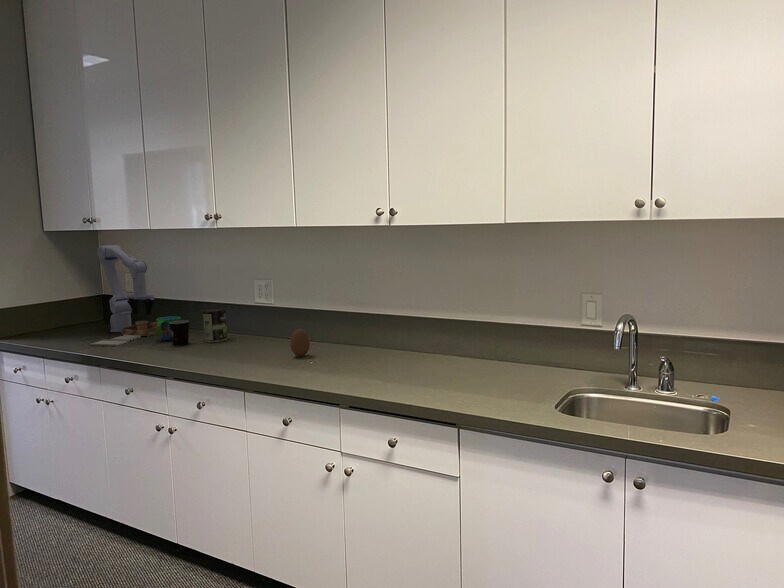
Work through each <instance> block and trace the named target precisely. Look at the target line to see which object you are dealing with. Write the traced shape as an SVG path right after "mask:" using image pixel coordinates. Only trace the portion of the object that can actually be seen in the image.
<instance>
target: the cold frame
mask: <svg viewBox="0 0 784 588" xmlns="http://www.w3.org/2000/svg"><path fill="white" fill-rule="evenodd" d="M137 321H138V320H137ZM137 321H135V322H137ZM156 329H157V322H156V321H148V324H147V330H137V325H136V324H134V325H131V326H129V327H125V328H122V329H121V332H120V336H121V335H138V336H147V337H146V338H149V337H148V336H150V337H152V336H151V335H153V336H156V335H155V334H157V333H156Z"/></svg>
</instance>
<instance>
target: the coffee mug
mask: <svg viewBox="0 0 784 588" xmlns="http://www.w3.org/2000/svg"><path fill="white" fill-rule="evenodd" d="M169 327H170V332H171V337H172V340H171V341H172V342H171V343H172V346H174V345H181V346H185V345H184V344H187V345H188V344H189V338H190V337H189V336H190V334H189V333H190V332H189V331H190V320H183V319H181V320H180V321H172V322H169Z"/></svg>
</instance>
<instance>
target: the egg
mask: <svg viewBox="0 0 784 588" xmlns="http://www.w3.org/2000/svg"><path fill="white" fill-rule="evenodd" d="M310 343H311V342H310V337H309V335H308V334H307V332H306V331H305V330H304V329H301V328H298V329H296V330H295V331H294V332H293V333H292V335H291V338H290V341H289V345H290V346H289V347H290V349H291V351H292V353H293V355H295V356H297V357H304V356H305V355H307V354H308V352H309V350H310V346H311V344H310Z"/></svg>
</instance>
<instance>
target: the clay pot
mask: <svg viewBox="0 0 784 588" xmlns="http://www.w3.org/2000/svg"><path fill="white" fill-rule="evenodd" d="M148 322H149V321H148V320H137V322H136V321H135V324H134V325H137V330H147V324H148Z"/></svg>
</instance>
